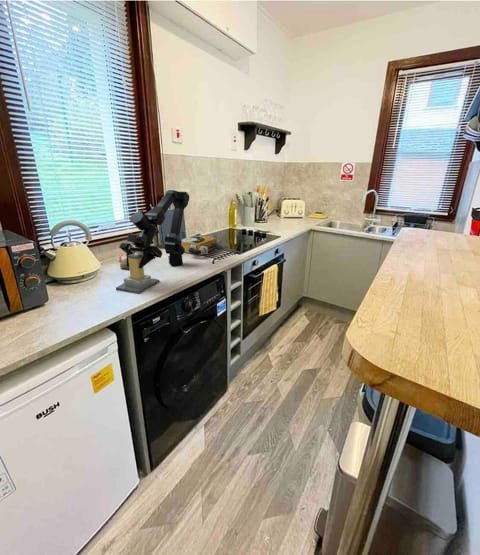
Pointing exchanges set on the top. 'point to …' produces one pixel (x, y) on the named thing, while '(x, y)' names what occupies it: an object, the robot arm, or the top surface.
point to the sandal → (124, 263)
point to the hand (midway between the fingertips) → (133, 267)
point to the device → (199, 244)
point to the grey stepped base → (137, 284)
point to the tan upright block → (135, 266)
